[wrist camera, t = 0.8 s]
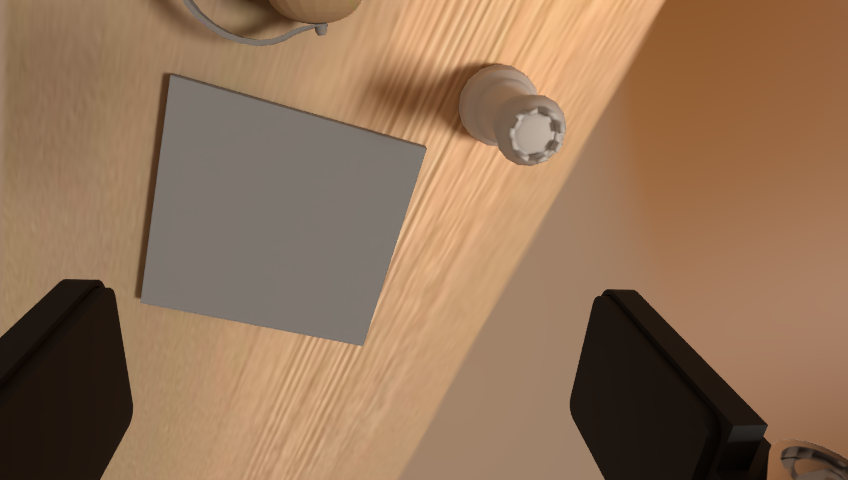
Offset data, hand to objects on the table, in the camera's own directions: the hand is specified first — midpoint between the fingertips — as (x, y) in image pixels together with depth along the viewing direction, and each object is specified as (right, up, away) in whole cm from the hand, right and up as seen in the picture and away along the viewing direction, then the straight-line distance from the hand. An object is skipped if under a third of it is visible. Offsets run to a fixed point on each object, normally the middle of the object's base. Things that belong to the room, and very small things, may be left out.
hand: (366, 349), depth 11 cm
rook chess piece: (+5, +10, +20) cm, 23 cm away
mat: (-8, +3, +22) cm, 23 cm away
